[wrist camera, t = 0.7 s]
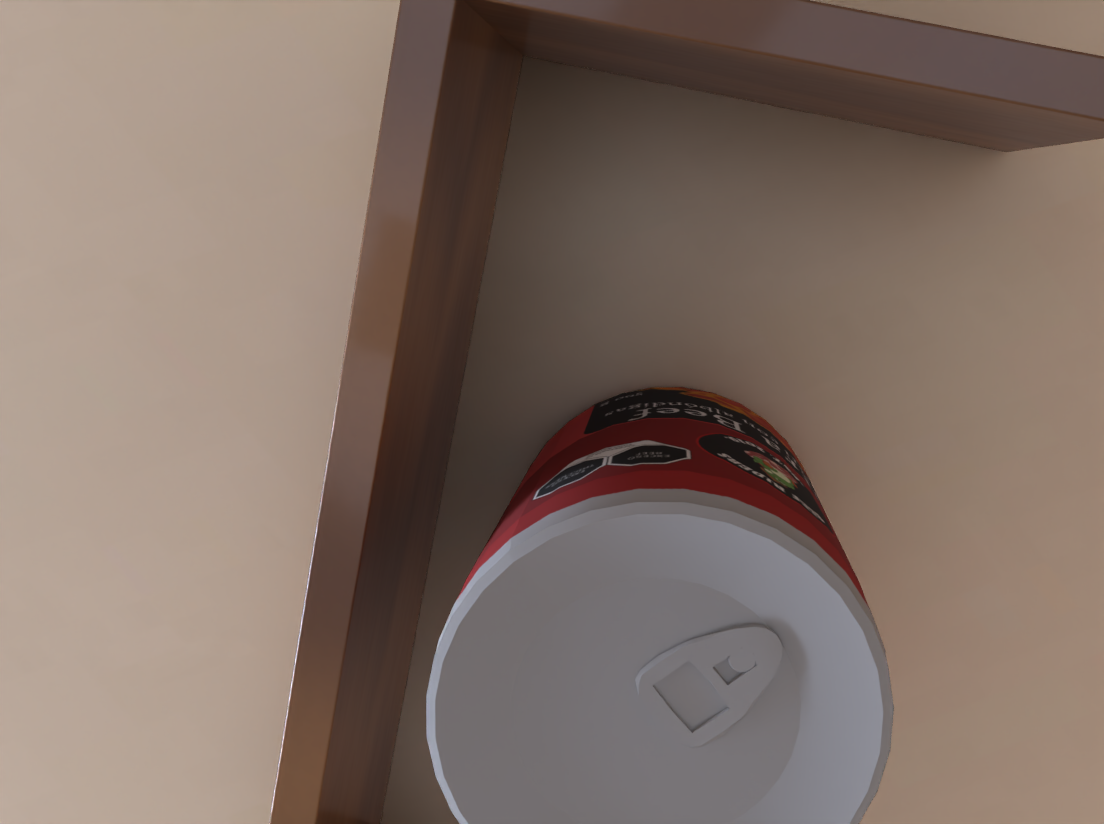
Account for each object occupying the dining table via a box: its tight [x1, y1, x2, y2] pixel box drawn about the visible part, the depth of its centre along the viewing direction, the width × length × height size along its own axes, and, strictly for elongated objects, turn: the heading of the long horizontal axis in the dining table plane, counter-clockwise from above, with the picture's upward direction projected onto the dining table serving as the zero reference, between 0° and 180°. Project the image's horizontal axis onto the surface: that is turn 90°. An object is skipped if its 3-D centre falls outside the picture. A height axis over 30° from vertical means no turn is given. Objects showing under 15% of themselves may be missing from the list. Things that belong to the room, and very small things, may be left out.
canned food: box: [426, 387, 894, 824], centre depth 23 cm, size 8×8×11 cm
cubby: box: [269, 0, 1104, 824], centre depth 24 cm, size 24×13×8 cm, turn 168°
